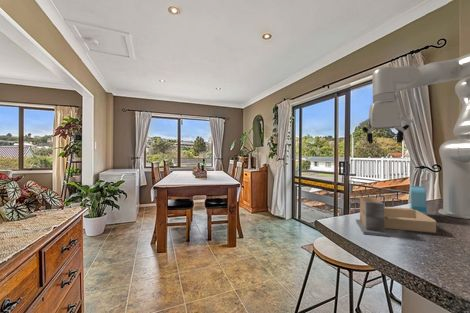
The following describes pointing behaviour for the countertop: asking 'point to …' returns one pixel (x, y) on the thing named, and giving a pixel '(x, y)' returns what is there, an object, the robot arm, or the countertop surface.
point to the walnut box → (372, 214)
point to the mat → (370, 232)
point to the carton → (408, 220)
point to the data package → (418, 199)
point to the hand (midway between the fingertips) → (384, 143)
